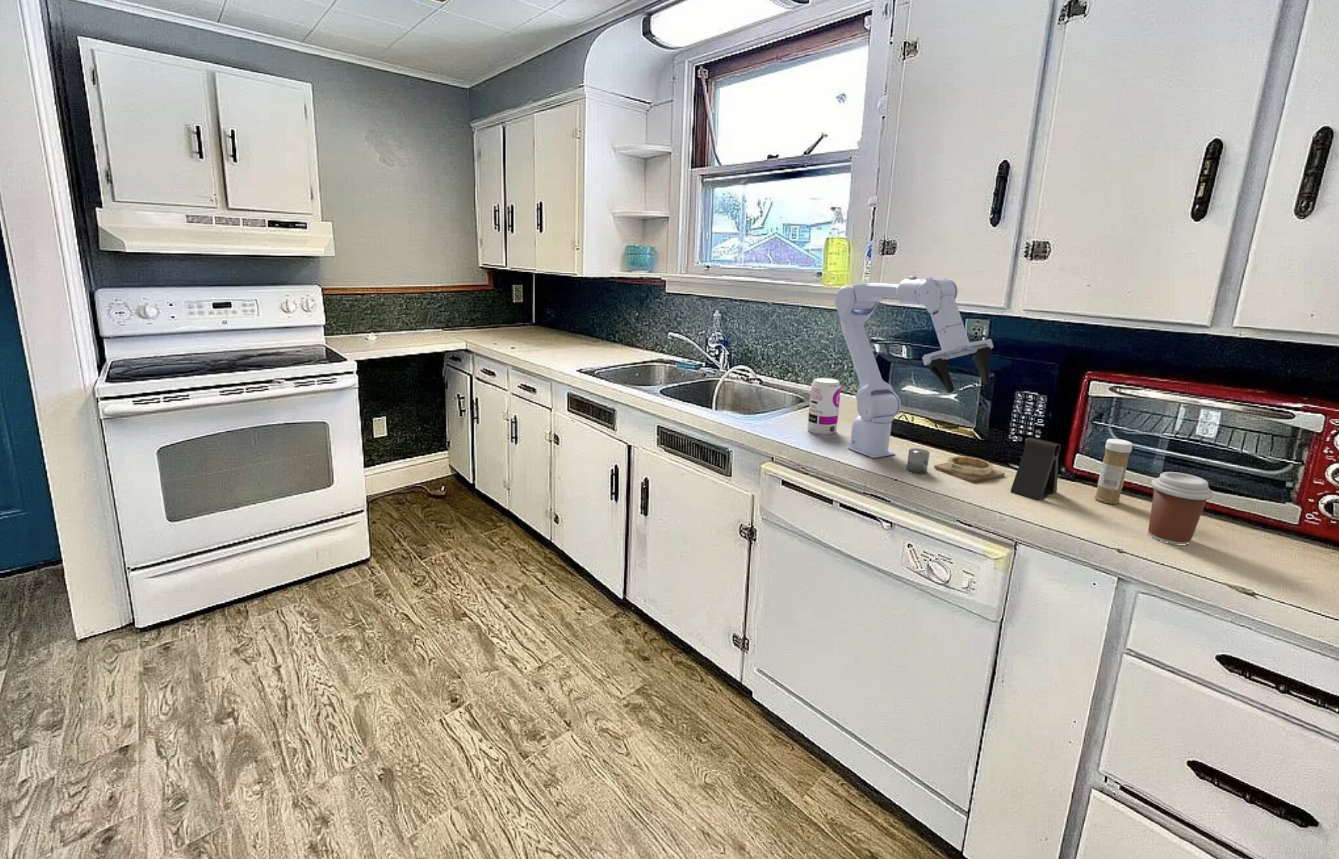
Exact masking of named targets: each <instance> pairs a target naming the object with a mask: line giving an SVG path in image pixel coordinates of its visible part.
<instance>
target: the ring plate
mask: <svg viewBox="0 0 1339 859" xmlns="http://www.w3.org/2000/svg"><path fill="white" fill-rule="evenodd" d="M993 467H994V465H993V463H991V462H989V461H988V460H984V459H981V458H978V457H972V456H961V455H959V456H958V455H956V456H951V457H949V458H948V460H947V462H945V463H939V464H935V465H934V466H933V469H934V468H936V469H935V470H937V469H938V470H937V471H940V470H941V472H943V473H945V472H947V473H946V474H948V475H950V474H951V476H954V477H956V478H959V479H962V480H965V481H967V482H970V483H972V484H976V483H980V482H985V481H990V480H993V479H998V478H1003V477H1005V474H1006V473H1005V472H1003V471H1000V470H998V469H994V468H993Z"/></svg>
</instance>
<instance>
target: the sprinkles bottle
mask: <svg viewBox="0 0 1339 859" xmlns="http://www.w3.org/2000/svg"><path fill="white" fill-rule="evenodd" d="M1133 445H1134V444H1133V443H1132V442H1131V441H1128V440H1125V439H1120V438H1108V439H1107V440H1106V442H1105V449H1104V450H1105V451H1104V456H1103V460H1102V464H1101V466H1100V467H1101V469H1100V471H1099V472H1100V473H1099V476H1098V477H1099V478H1098V481H1097V487H1096V491H1095V492H1096V493H1095V495H1094V499H1095V500H1096V501H1098V502H1101V503H1103V502H1105V503H1104V504H1108V503H1109V505H1117V504H1119V503H1120V501H1121V500H1120V498H1121V493H1122V489H1123V486H1124V482H1125V478H1126V471H1127V468H1128V462H1129V459H1130V454H1131V452H1132V450H1133Z"/></svg>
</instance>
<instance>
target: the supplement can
mask: <svg viewBox="0 0 1339 859" xmlns="http://www.w3.org/2000/svg"><path fill="white" fill-rule="evenodd" d="M810 385H811V387H810V396H809V398H810V399H809V408H808V410H809V411H808V416H807V418H808V419H807V429H808V430H809V432H810V433H812V434H816V435H822V436H823V435H824V436H828V435H833V434H835V433H836V432H837V431H838V430H837V429H838V420H839V411H840V398H841V392H842V391H841V390H842V385H841V384H840V380H838V379H836V378H829V377H816V378H814V379H813V381H812V382H811V384H810Z"/></svg>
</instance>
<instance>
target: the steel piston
mask: <svg viewBox="0 0 1339 859" xmlns="http://www.w3.org/2000/svg"><path fill="white" fill-rule="evenodd" d="M930 454H931V453H930V451H929V450H927V449H923V448H916V447H915V448H913V447H912V448H909V450H908V455H907V462H906V463H907V464H906V471H907V472H908V473H910V472H912V473H911V474H913V473H915V474H914V475H926V474H927V473H928V467H929V461H930V460H929V459H930ZM925 473H926V474H925Z"/></svg>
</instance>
